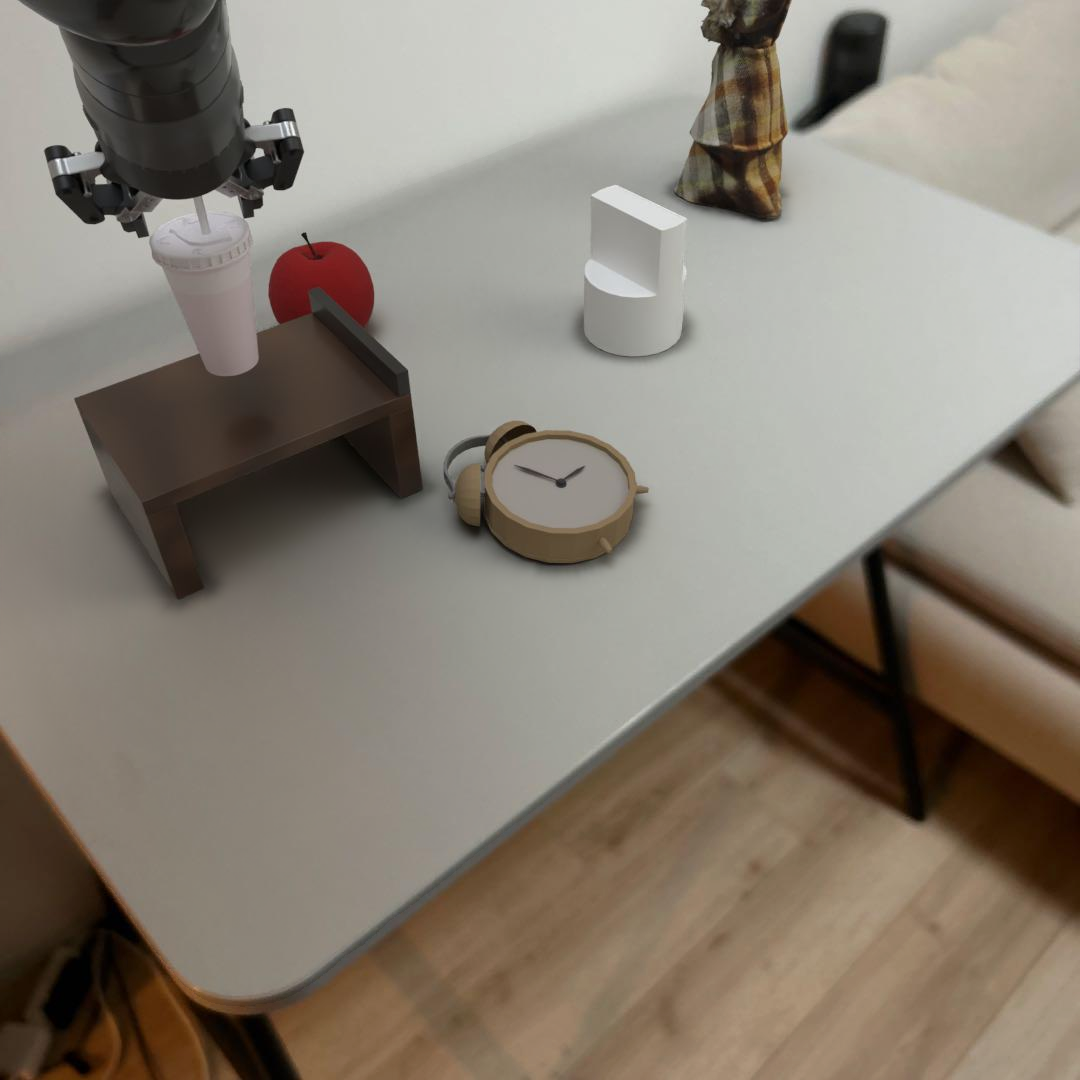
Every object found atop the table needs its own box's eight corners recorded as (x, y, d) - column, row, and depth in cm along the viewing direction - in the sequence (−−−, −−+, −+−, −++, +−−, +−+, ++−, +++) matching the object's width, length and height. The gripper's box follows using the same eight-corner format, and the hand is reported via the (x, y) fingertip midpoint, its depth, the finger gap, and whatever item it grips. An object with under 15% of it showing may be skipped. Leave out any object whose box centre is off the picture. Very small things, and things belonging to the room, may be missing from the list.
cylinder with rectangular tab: (563, 327, 100) (563, 205, 92) (633, 292, 104) (638, 173, 96) (631, 368, 95) (637, 244, 87) (702, 330, 99) (714, 208, 91)
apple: (287, 371, 96) (265, 270, 89) (271, 319, 102) (249, 220, 95) (389, 350, 98) (375, 250, 91) (367, 300, 104) (353, 203, 97)
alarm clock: (605, 556, 74) (413, 470, 77) (592, 601, 78) (410, 517, 81) (662, 460, 81) (486, 385, 84) (648, 505, 85) (480, 431, 88)
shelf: (177, 600, 76) (132, 478, 68) (111, 493, 84) (64, 375, 77) (423, 489, 84) (408, 369, 76) (340, 402, 93) (319, 286, 85)
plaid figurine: (653, 215, 113) (728, -44, 97) (643, 161, 123) (709, -81, 107) (780, 240, 115) (875, -10, 99) (760, 185, 125) (843, -50, 109)
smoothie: (247, 395, 73) (198, 198, 63) (166, 377, 74) (106, 183, 65) (294, 344, 77) (255, 153, 67) (217, 329, 79) (168, 140, 69)
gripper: (288, 0, 55) (288, 138, 71) (-11, 42, 52) (61, 176, 68) (326, 143, 55) (317, 248, 71) (30, 193, 52) (92, 291, 68)
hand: (192, 212), depth 70 cm, fingers closed on smoothie, 6 cm apart
